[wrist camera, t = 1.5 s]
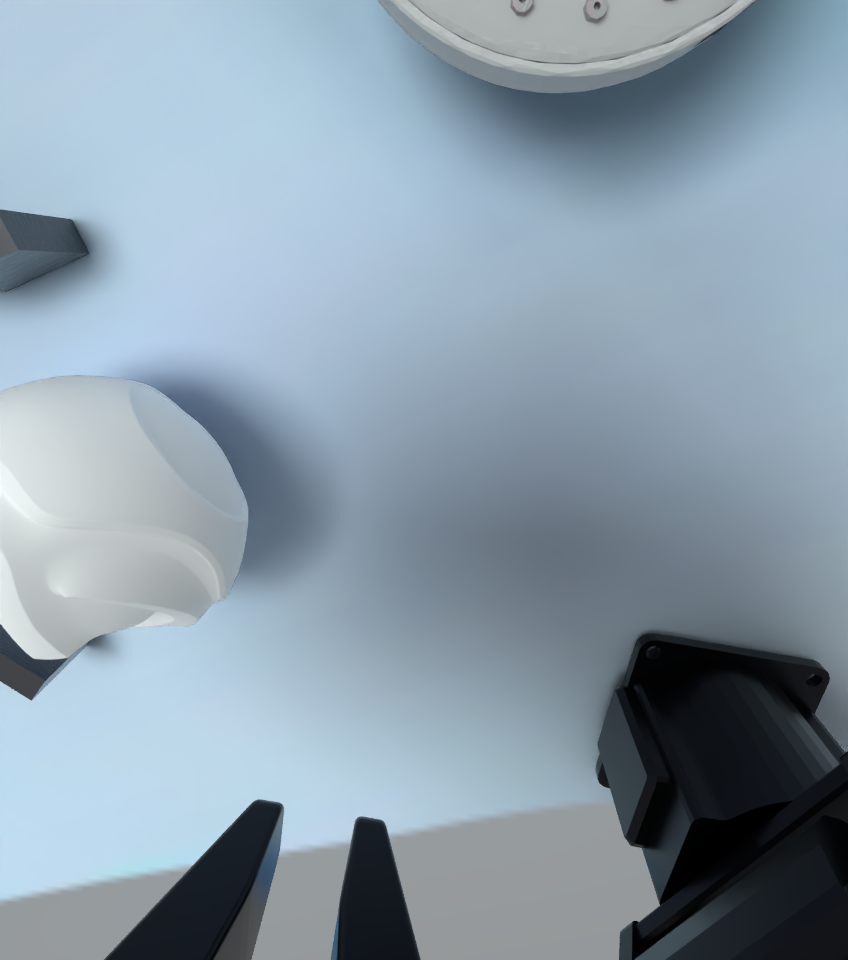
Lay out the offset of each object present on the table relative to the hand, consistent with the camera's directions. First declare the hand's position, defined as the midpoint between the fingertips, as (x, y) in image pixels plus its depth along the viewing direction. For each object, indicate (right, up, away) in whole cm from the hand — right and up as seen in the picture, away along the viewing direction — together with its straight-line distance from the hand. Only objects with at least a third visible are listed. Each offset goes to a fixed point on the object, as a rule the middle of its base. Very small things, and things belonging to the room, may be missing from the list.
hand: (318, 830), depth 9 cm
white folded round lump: (-7, +5, +12) cm, 15 cm away
